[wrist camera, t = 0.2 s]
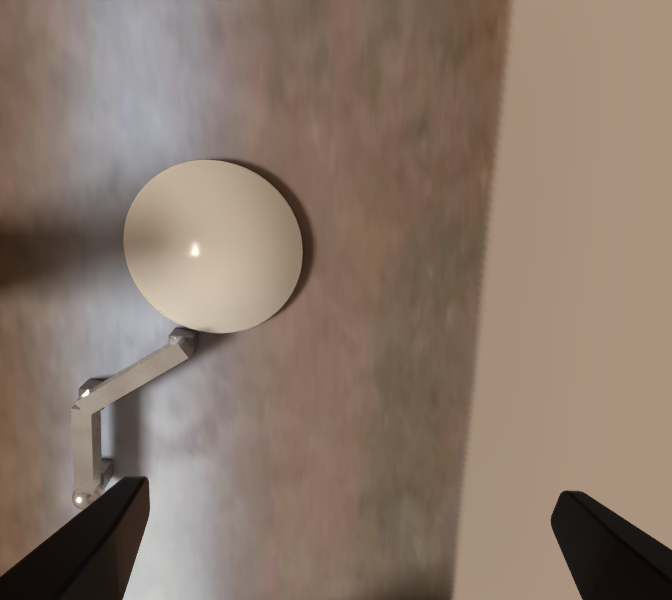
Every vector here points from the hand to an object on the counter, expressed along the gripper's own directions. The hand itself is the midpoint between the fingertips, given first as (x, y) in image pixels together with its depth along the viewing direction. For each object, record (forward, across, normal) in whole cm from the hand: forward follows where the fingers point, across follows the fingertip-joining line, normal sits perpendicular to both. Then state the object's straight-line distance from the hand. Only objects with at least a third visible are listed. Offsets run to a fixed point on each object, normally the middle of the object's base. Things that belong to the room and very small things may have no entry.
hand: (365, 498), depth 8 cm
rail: (+14, +10, +8) cm, 19 cm away
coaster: (+14, +6, -2) cm, 16 cm away
